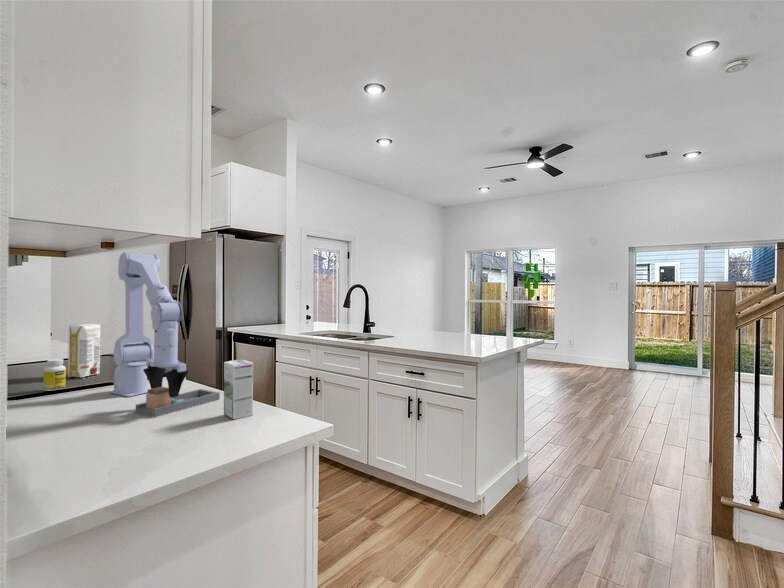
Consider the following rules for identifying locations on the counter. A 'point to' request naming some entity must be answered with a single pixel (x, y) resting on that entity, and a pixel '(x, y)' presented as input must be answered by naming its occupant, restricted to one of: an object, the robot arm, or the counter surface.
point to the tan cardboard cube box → (158, 397)
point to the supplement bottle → (54, 374)
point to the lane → (205, 397)
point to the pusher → (177, 400)
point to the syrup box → (238, 389)
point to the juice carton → (84, 350)
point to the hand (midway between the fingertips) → (165, 394)
